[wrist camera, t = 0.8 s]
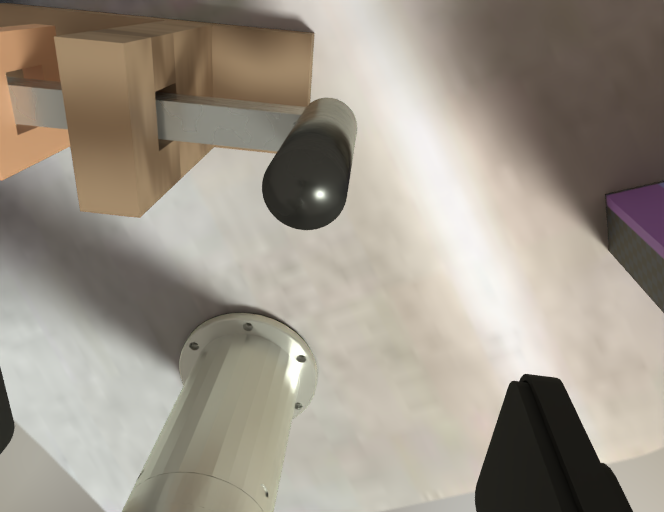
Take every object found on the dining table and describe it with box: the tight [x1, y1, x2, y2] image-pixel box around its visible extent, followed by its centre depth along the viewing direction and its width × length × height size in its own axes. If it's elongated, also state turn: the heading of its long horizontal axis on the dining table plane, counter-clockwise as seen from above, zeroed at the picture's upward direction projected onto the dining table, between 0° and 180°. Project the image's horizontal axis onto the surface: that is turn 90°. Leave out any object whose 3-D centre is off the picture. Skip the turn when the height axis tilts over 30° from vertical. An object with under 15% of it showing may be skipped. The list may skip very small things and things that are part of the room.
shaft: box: [6, 76, 357, 230], centre depth 24 cm, size 3×22×10 cm, turn 85°
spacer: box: [0, 24, 70, 180], centre depth 29 cm, size 7×1×7 cm, turn 175°
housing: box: [0, 3, 314, 218], centre depth 30 cm, size 8×21×14 cm, turn 85°
